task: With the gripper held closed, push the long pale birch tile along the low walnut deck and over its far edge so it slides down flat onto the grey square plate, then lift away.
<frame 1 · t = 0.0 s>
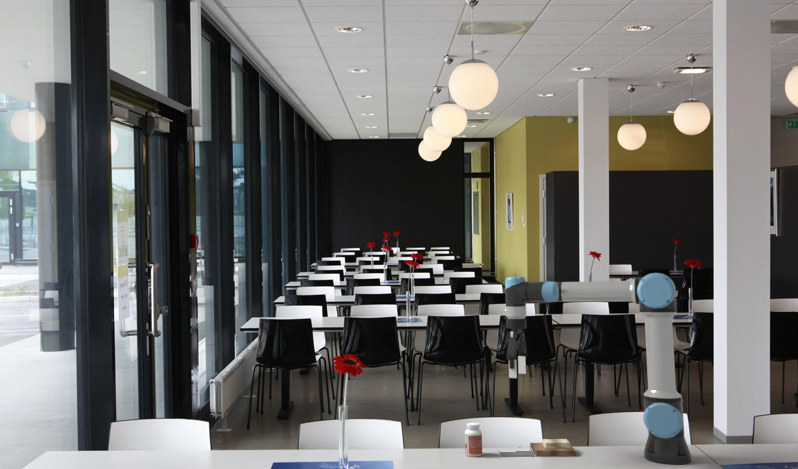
hand: (517, 375, 225), 28 cm above the table, tool pointing down, fingers open, 13 cm apart
walnut deck: (552, 452, 224), on the table
pill bottle: (473, 455, 221), on the table
birch tile: (556, 446, 224), point 2 cm above the table, touching walnut deck
grey square plate: (515, 452, 224), on the table
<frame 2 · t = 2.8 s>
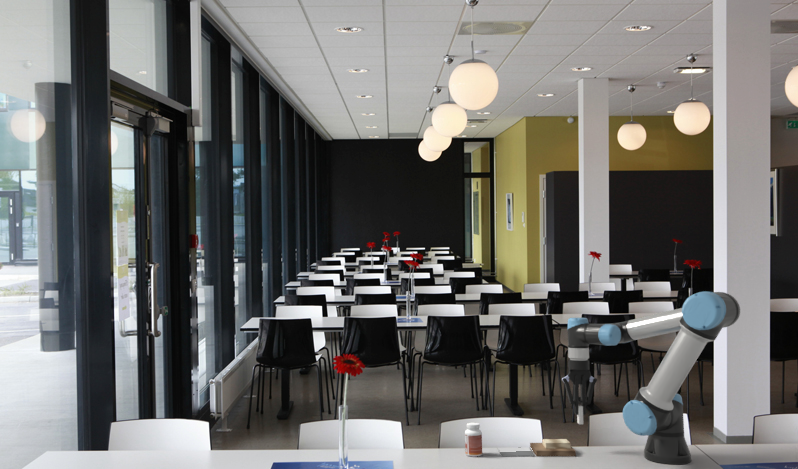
hand: (580, 423, 225), 10 cm above the table, tool pointing down, fingers closed
nothing on the table moved.
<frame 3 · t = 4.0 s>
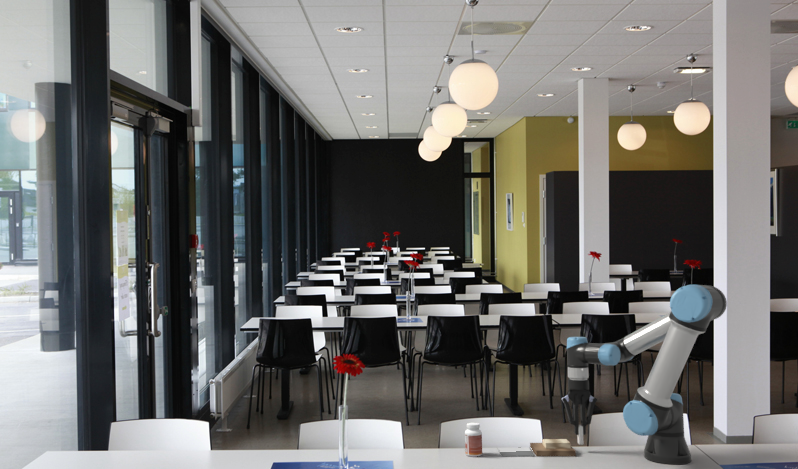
hand: (580, 443, 224), 3 cm above the table, tool pointing down, fingers closed
nothing on the table moved.
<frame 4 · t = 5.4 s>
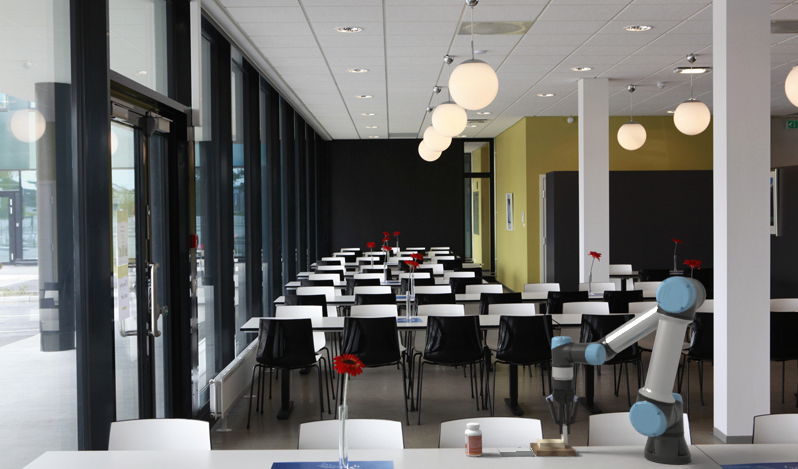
hand: (564, 443, 225), 3 cm above the table, tool pointing down, fingers closed
birch tile: (550, 446, 224), point 2 cm above the table
everything else where it was.
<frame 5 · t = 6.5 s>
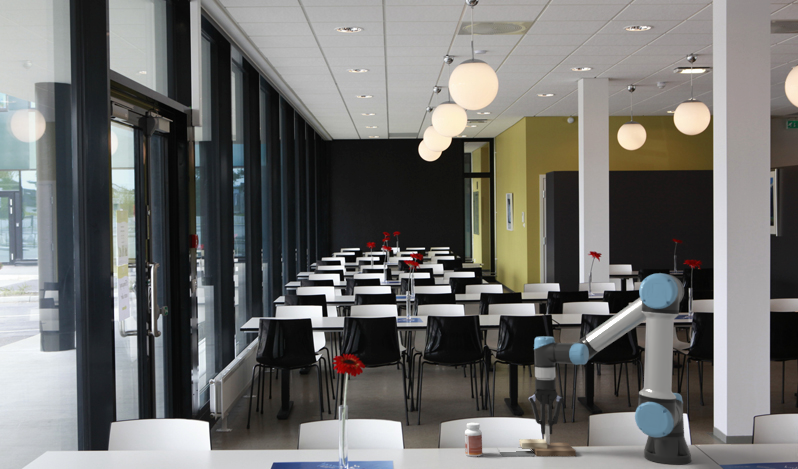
hand: (547, 443, 225), 3 cm above the table, tool pointing down, fingers closed
birch tile: (533, 446, 224), point 2 cm above the table, touching gripper
everything else where it was.
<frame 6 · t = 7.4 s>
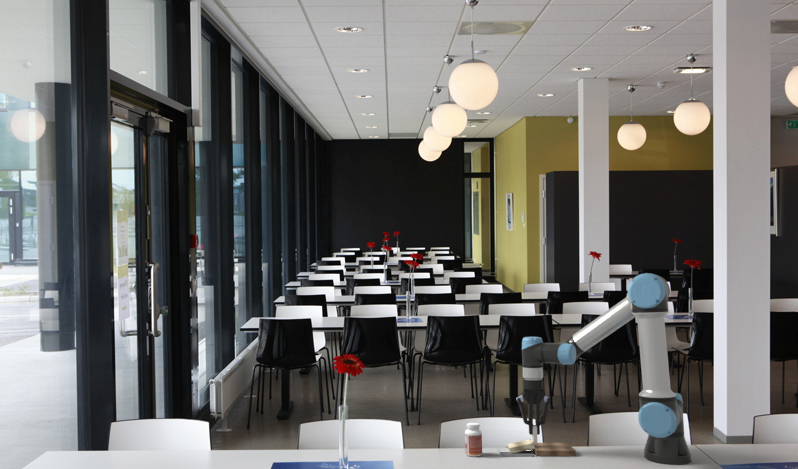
hand: (534, 443, 225), 3 cm above the table, tool pointing down, fingers closed
birch tile: (521, 449, 224), point 1 cm above the table, tilted 11°, touching gripper
everything else where it was.
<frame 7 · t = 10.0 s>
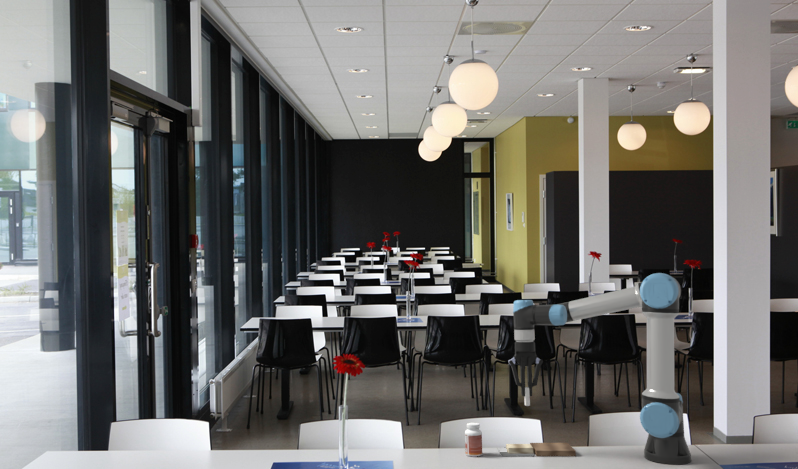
hand: (527, 405, 226), 17 cm above the table, tool pointing down, fingers closed
birch tile: (519, 451, 224), resting on grey square plate
everything else where it was.
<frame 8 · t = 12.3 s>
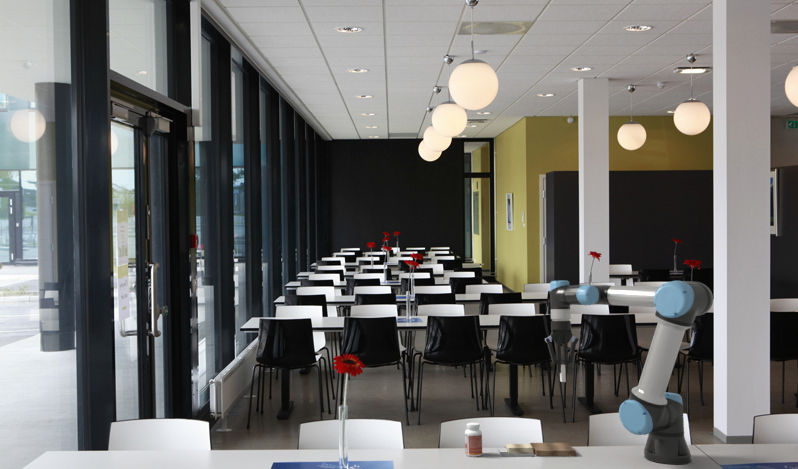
hand: (562, 381, 235), 24 cm above the table, tool pointing down, fingers closed
nothing on the table moved.
at the end: birch tile 1.4 cm from the grey square plate (horizontally); birch tile resting on grey square plate; birch tile touching grey square plate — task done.
